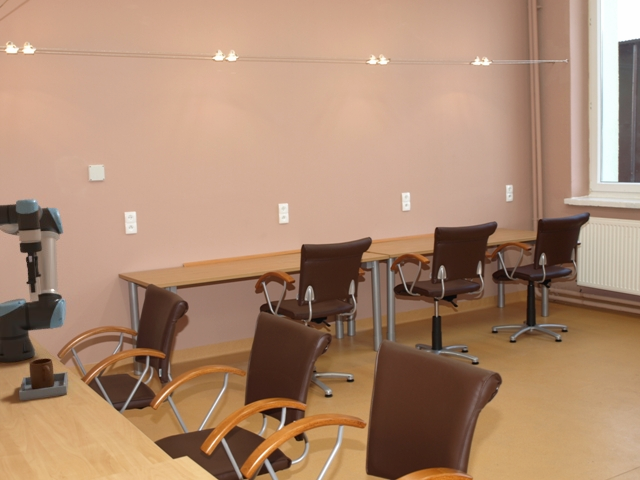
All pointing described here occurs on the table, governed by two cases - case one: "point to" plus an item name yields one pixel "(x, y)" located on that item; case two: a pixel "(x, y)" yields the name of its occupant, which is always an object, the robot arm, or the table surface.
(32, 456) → the table surface
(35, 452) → the table surface
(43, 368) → the mug
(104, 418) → the table surface
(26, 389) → the tray
